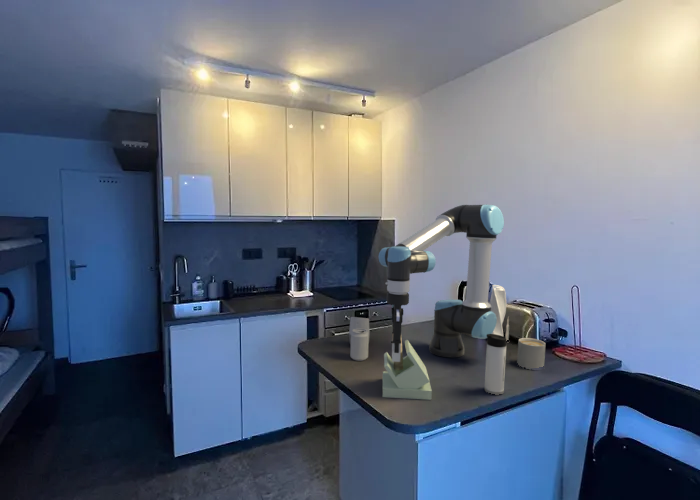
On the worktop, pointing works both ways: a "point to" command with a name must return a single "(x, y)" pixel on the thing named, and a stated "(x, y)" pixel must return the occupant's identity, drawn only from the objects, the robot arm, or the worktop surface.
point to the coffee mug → (531, 353)
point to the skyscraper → (499, 309)
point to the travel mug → (495, 364)
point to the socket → (406, 377)
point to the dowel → (400, 364)
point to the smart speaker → (358, 325)
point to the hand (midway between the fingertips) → (395, 359)
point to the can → (359, 344)
